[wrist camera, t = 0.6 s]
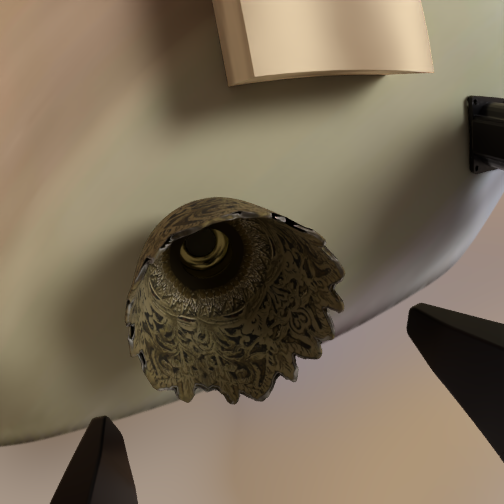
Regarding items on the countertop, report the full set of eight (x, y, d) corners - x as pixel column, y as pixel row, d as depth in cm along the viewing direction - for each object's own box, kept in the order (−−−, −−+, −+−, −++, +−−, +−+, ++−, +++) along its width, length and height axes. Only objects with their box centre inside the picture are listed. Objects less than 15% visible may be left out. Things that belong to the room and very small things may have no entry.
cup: (112, 282, 16) (103, 391, 9) (159, 149, 15) (173, 175, 8) (234, 314, 19) (286, 413, 13) (288, 202, 18) (381, 260, 11)
